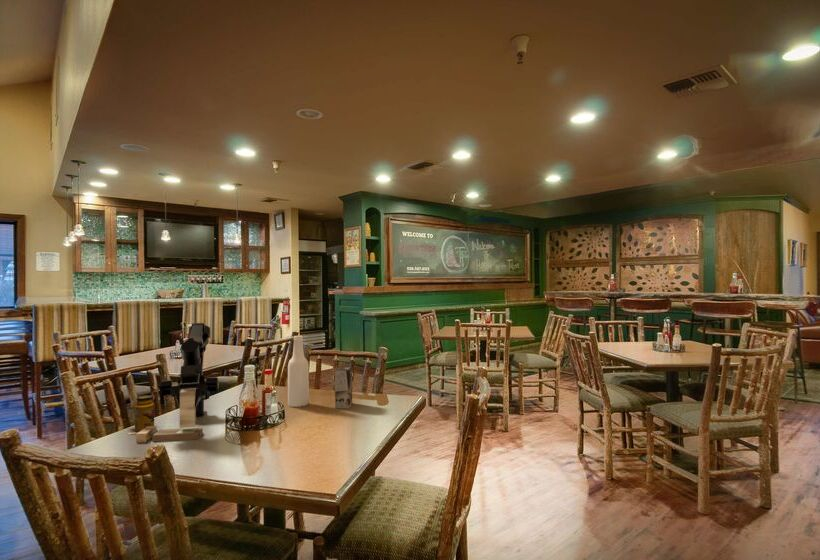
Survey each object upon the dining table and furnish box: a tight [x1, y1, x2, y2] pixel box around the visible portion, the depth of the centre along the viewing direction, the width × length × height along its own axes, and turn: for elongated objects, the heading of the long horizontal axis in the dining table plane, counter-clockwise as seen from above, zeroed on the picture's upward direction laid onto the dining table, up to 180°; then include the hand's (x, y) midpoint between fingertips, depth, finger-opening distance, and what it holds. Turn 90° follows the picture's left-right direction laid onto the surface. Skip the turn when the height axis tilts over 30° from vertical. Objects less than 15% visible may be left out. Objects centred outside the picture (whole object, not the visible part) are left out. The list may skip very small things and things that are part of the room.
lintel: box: [135, 425, 157, 443], centre depth 151 cm, size 8×3×3 cm, turn 8°
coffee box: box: [334, 366, 353, 409], centre depth 191 cm, size 9×6×16 cm
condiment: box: [127, 394, 156, 435], centre depth 159 cm, size 7×8×12 cm
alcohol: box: [287, 335, 310, 408], centre depth 193 cm, size 9×9×30 cm
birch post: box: [179, 389, 197, 429], centre depth 153 cm, size 4×4×12 cm
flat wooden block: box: [152, 426, 204, 442], centre depth 151 cm, size 6×14×2 cm, turn 98°
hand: (187, 407), depth 151 cm, fingers closed on birch post, 4 cm apart
